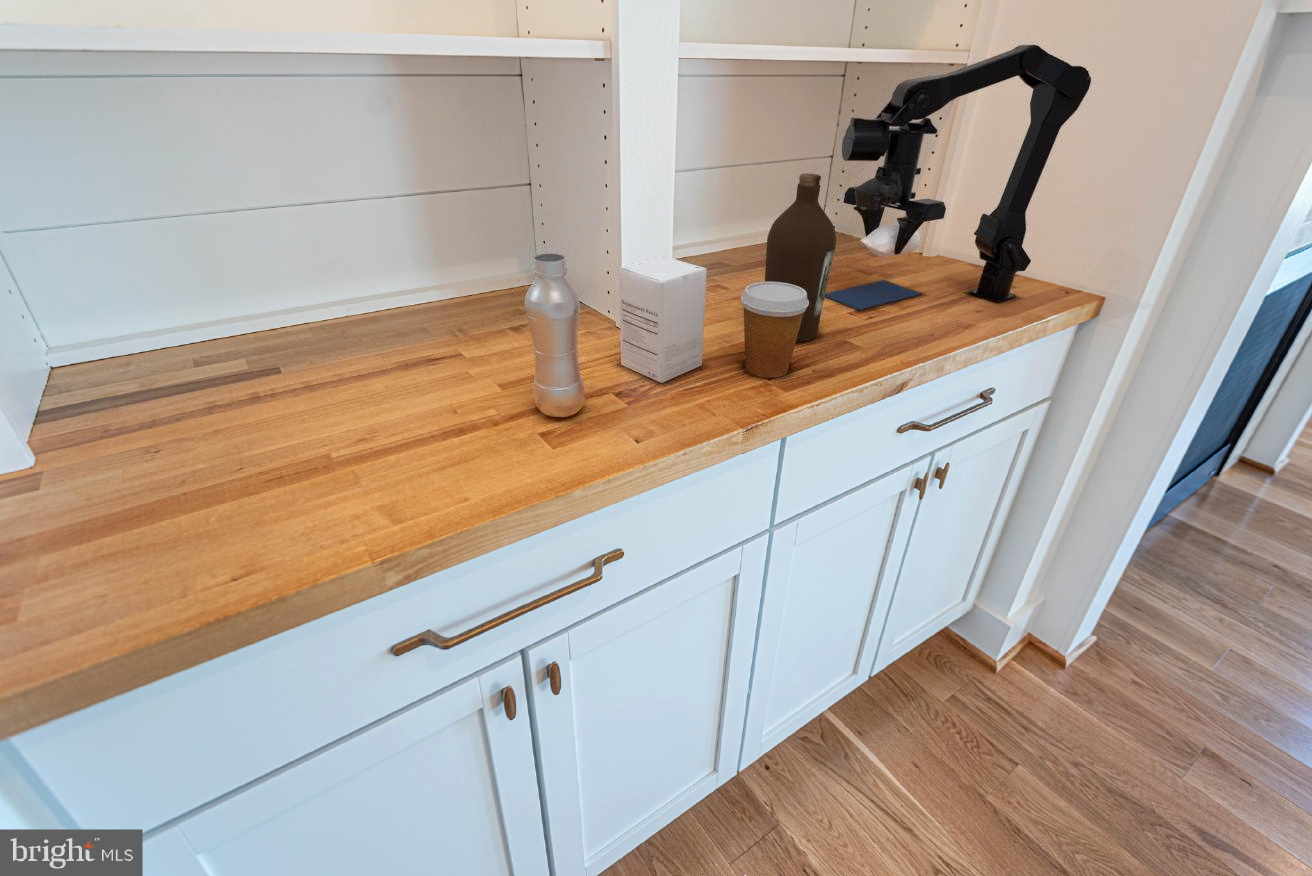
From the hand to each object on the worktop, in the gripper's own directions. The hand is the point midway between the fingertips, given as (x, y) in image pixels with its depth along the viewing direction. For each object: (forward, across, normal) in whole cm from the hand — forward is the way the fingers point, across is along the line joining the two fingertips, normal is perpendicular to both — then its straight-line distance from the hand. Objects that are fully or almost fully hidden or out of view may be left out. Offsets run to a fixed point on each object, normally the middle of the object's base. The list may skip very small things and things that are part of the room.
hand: (883, 250), depth 120 cm
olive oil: (+9, +6, -28) cm, 30 cm away
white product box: (+9, +6, -54) cm, 55 cm away
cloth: (+9, 0, 0) cm, 9 cm away
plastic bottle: (+9, +11, -73) cm, 74 cm away
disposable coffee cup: (+9, +15, -41) cm, 45 cm away
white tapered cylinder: (+1, 0, 0) cm, 1 cm away
